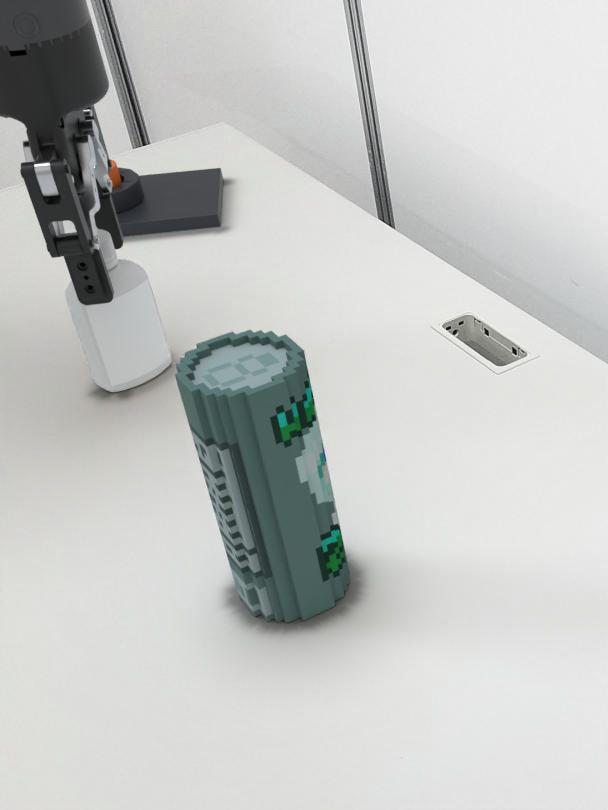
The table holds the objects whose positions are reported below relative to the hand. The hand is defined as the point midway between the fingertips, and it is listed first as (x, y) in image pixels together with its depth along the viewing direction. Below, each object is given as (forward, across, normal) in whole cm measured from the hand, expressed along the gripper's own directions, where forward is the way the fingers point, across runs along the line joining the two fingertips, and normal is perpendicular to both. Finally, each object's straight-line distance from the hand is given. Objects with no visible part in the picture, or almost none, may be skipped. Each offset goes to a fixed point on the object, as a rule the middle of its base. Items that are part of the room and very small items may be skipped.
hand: (103, 273), depth 84 cm
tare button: (+5, -28, -4) cm, 29 cm away
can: (+8, +26, +11) cm, 29 cm away
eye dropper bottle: (+8, 0, 0) cm, 8 cm away
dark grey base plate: (+8, -28, 0) cm, 29 cm away
